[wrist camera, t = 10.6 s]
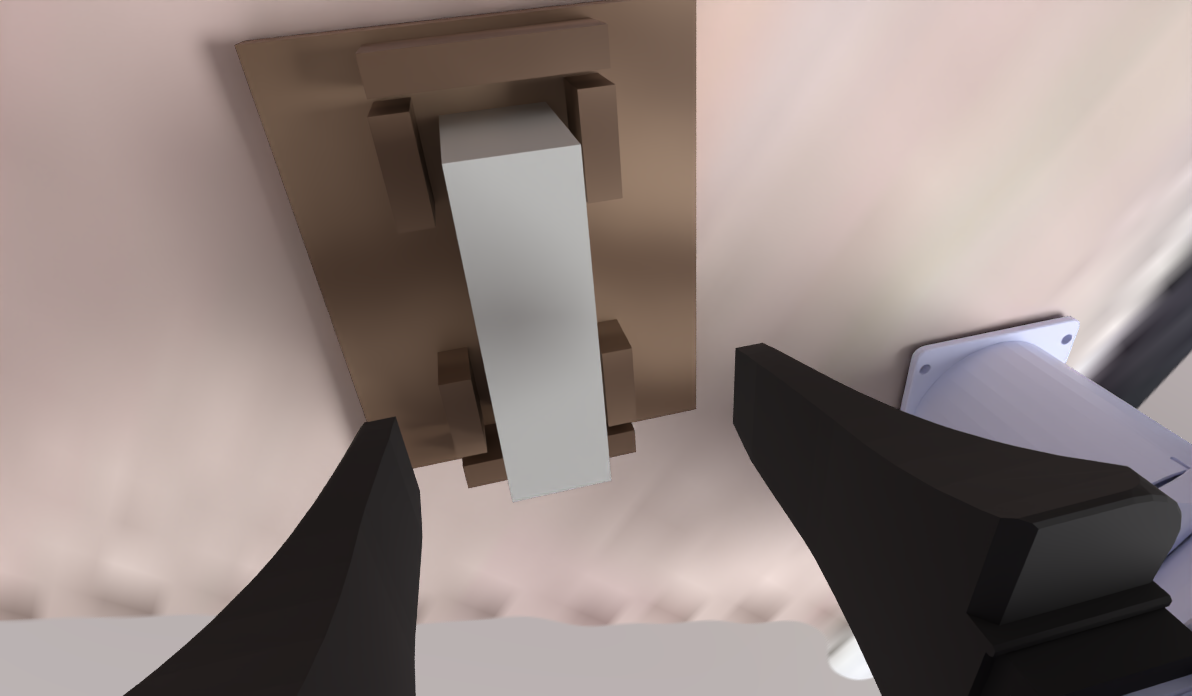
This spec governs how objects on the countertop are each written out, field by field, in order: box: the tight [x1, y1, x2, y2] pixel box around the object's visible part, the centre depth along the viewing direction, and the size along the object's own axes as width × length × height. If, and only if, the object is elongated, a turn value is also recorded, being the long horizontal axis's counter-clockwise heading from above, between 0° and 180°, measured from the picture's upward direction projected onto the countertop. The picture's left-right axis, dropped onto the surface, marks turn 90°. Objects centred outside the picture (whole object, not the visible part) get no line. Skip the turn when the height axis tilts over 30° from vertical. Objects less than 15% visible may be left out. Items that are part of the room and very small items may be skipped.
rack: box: [235, 0, 696, 488], centre depth 20 cm, size 14×12×3 cm
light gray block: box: [439, 102, 611, 502], centre depth 18 cm, size 10×3×5 cm, turn 5°
